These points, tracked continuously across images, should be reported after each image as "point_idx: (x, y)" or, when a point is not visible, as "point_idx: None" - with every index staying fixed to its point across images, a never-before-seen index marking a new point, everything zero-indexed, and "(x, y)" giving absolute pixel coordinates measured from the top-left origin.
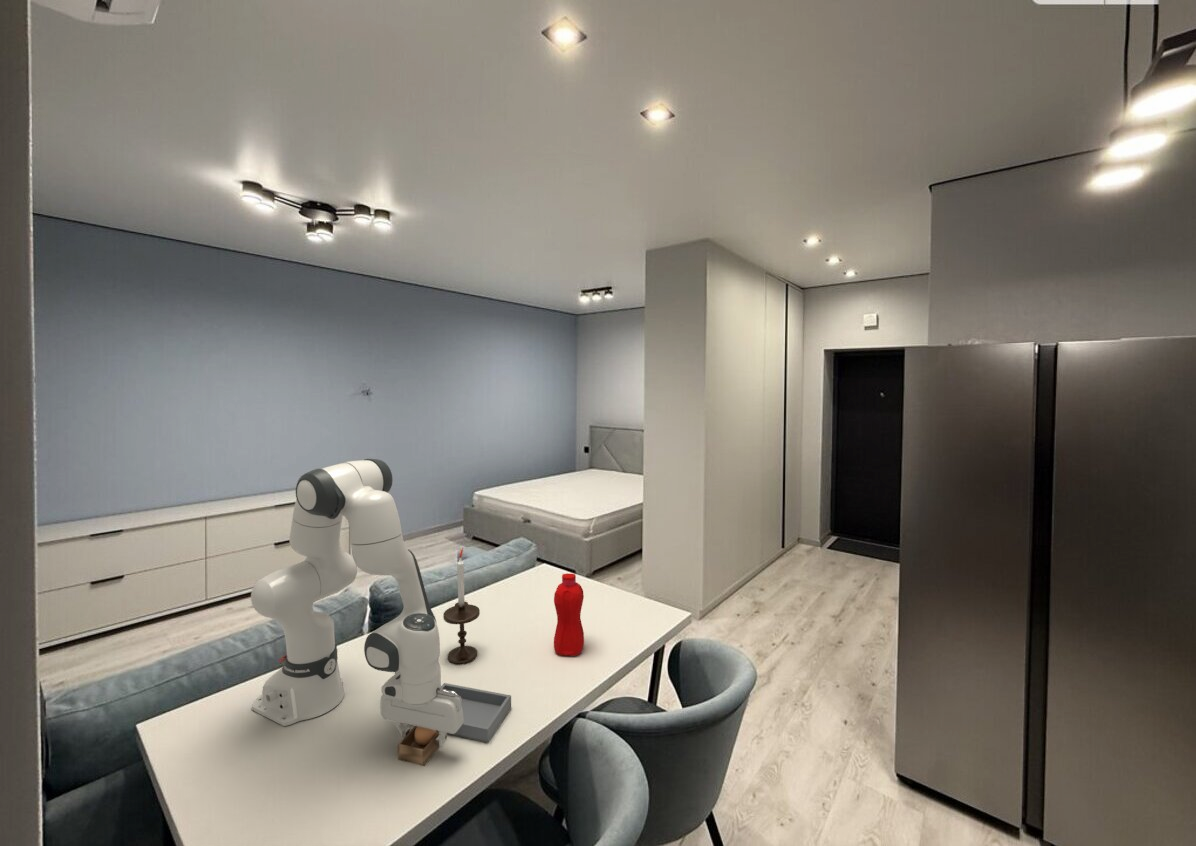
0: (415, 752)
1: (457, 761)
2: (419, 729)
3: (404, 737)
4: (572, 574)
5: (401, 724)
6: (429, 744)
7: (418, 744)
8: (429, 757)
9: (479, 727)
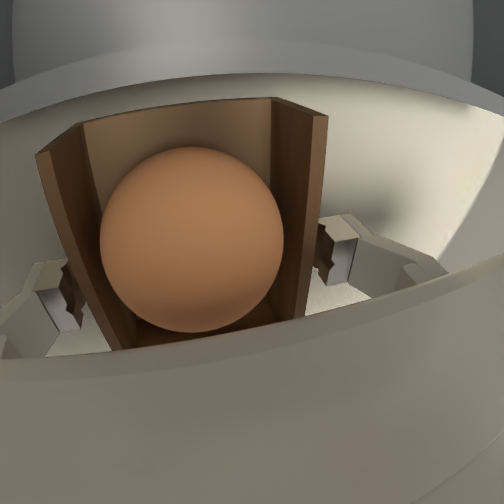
0: None
1: (393, 221)
2: (185, 331)
3: (78, 304)
4: None
5: (24, 355)
6: (302, 314)
7: None
8: None
9: (501, 114)
